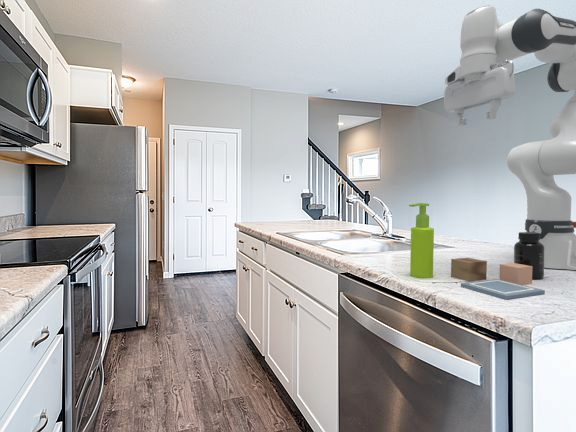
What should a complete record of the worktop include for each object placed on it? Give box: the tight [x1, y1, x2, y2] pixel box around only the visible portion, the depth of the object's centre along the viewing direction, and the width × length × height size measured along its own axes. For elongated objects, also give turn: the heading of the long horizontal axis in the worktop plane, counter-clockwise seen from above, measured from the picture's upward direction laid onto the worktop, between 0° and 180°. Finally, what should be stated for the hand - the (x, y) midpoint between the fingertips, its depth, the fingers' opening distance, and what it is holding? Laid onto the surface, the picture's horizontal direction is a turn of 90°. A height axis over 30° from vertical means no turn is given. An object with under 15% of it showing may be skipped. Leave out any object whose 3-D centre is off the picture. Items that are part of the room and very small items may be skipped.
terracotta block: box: [498, 262, 533, 286], centre depth 92 cm, size 5×5×4 cm
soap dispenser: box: [408, 202, 435, 279], centre depth 99 cm, size 6×7×20 cm
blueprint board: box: [460, 278, 546, 301], centre depth 85 cm, size 12×12×1 cm
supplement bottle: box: [513, 231, 545, 280], centre depth 98 cm, size 7×7×12 cm
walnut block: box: [450, 257, 488, 282], centre depth 97 cm, size 6×6×5 cm
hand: (476, 122), depth 99 cm, fingers open, 8 cm apart
